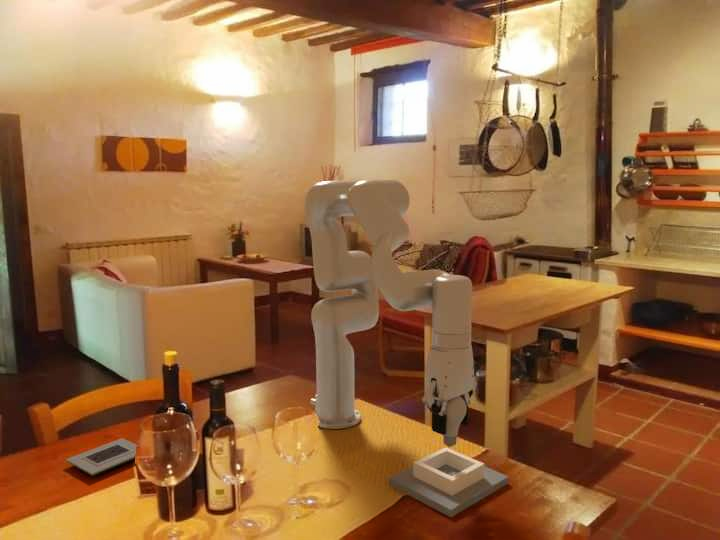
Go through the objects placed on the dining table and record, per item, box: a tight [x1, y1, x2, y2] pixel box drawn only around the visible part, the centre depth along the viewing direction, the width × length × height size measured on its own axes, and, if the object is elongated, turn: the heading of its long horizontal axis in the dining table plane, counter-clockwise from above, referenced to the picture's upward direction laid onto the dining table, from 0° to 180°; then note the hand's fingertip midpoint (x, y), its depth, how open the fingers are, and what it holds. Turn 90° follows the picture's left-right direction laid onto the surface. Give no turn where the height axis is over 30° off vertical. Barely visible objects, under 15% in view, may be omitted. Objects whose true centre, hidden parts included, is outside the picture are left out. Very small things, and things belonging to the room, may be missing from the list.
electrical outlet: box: [65, 438, 137, 477], centre depth 131 cm, size 13×10×2 cm
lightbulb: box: [437, 396, 466, 448], centre depth 119 cm, size 6×6×11 cm
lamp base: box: [388, 446, 509, 518], centre depth 121 cm, size 16×18×4 cm
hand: (450, 426), depth 119 cm, fingers closed on lightbulb, 6 cm apart
